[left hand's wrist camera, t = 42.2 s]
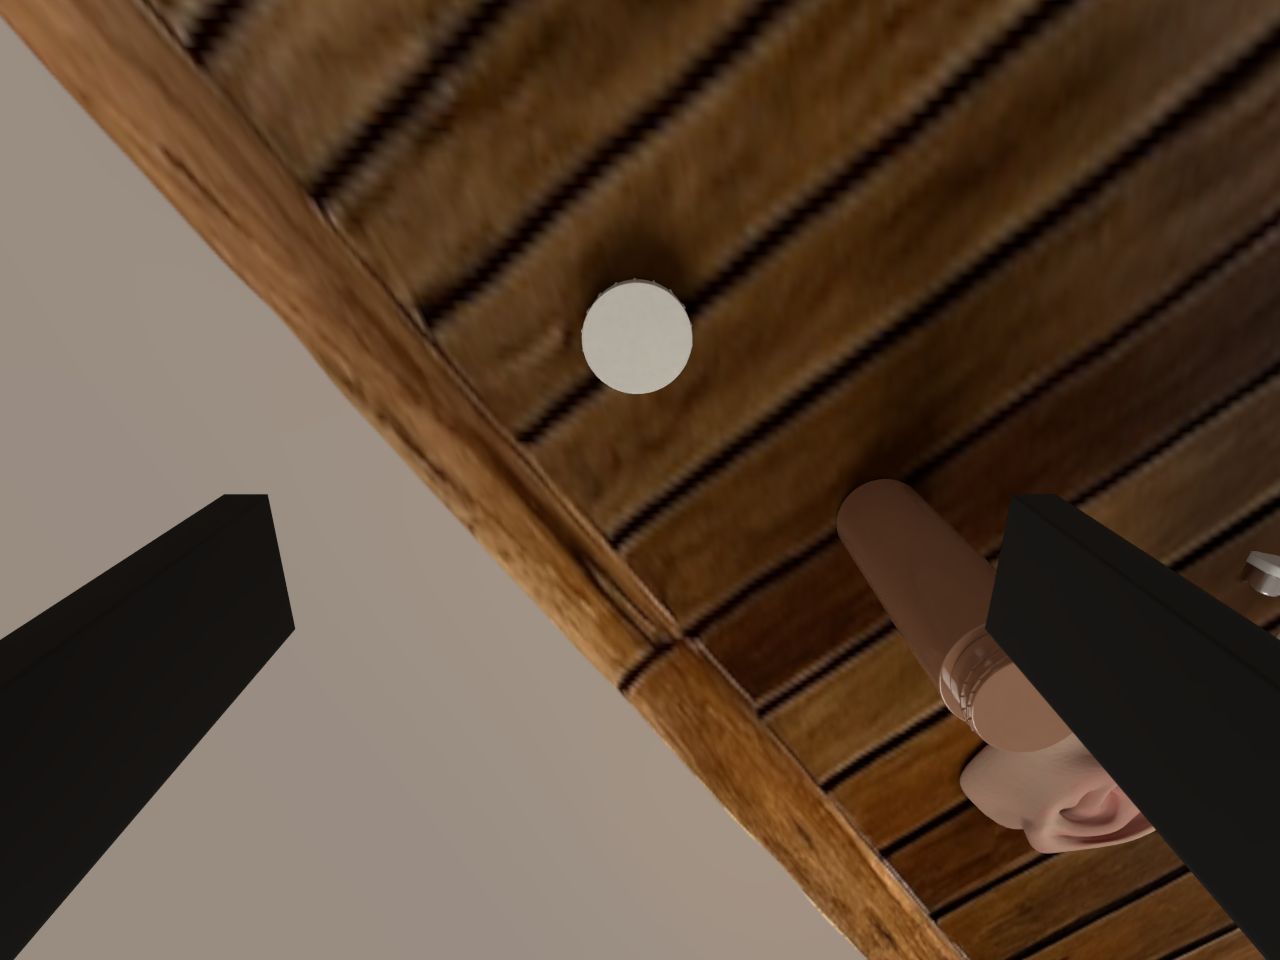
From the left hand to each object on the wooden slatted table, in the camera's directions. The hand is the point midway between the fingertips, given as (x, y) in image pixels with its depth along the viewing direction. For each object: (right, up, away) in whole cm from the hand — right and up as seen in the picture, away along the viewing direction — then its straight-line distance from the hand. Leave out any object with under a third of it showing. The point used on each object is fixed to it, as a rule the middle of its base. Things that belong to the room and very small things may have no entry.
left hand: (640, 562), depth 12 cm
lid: (0, +9, +25) cm, 27 cm away
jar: (+15, -1, +31) cm, 35 cm away
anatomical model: (+31, -20, +38) cm, 53 cm away
